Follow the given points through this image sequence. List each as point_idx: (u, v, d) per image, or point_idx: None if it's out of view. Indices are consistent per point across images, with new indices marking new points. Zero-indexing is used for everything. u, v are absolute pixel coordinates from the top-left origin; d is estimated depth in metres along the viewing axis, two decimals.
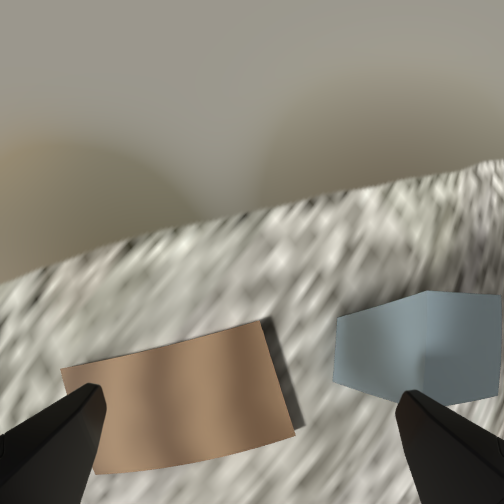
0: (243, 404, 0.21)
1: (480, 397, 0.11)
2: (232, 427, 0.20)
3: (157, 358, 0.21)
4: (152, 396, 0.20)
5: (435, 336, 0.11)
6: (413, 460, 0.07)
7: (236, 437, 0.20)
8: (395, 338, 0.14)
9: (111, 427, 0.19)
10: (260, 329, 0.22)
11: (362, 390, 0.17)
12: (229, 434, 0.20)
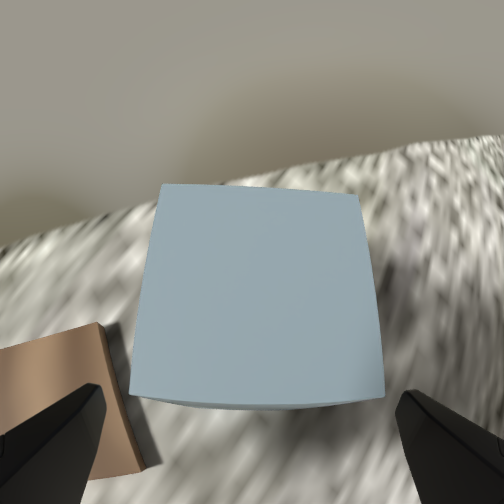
0: None
1: (320, 396, 0.06)
2: None
3: (2, 359, 0.15)
4: None
5: (168, 252, 0.07)
6: (413, 460, 0.07)
7: None
8: None
9: None
10: (97, 332, 0.17)
11: None
12: None
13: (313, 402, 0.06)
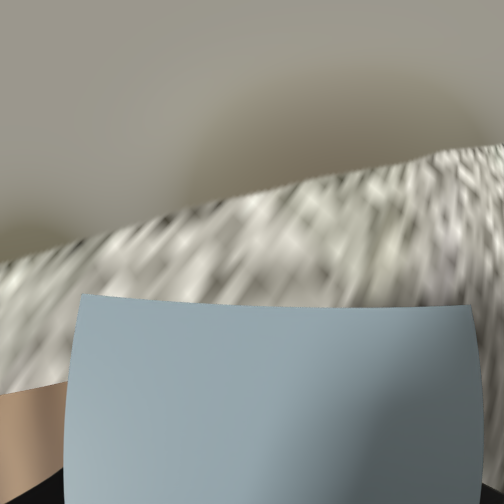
0: None
1: None
2: None
3: None
4: None
5: (101, 464, 0.02)
6: None
7: None
8: None
9: None
10: None
11: None
12: None
13: None
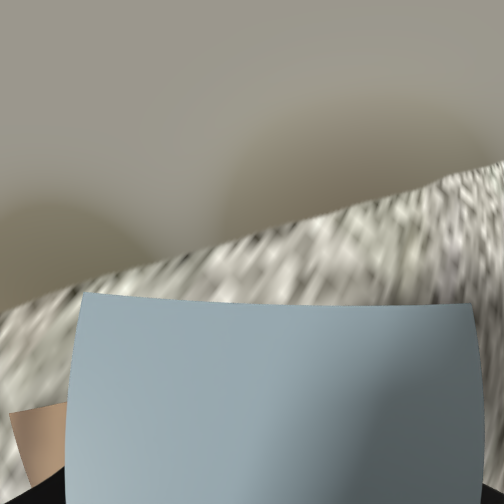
0: None
1: None
2: None
3: None
4: None
5: (102, 462, 0.02)
6: None
7: None
8: None
9: None
10: None
11: None
12: None
13: None
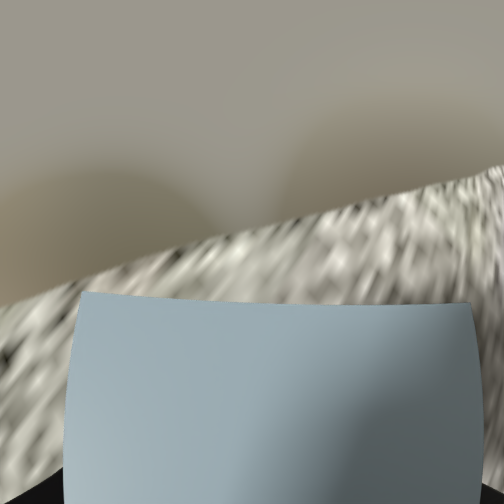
0: None
1: None
2: None
3: None
4: None
5: (100, 461, 0.02)
6: None
7: None
8: None
9: None
10: None
11: None
12: None
13: None
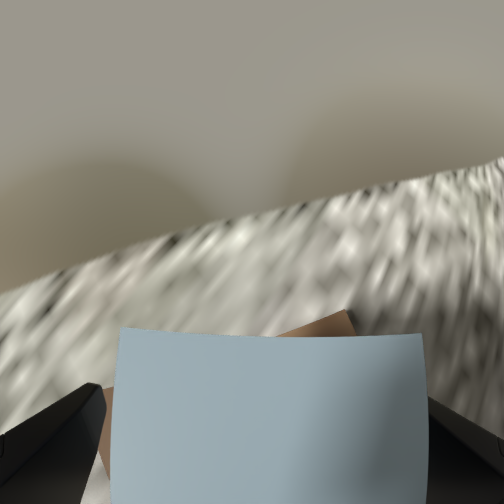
0: None
1: None
2: None
3: None
4: None
5: (139, 451, 0.04)
6: None
7: None
8: None
9: None
10: (347, 319, 0.18)
11: None
12: None
13: None
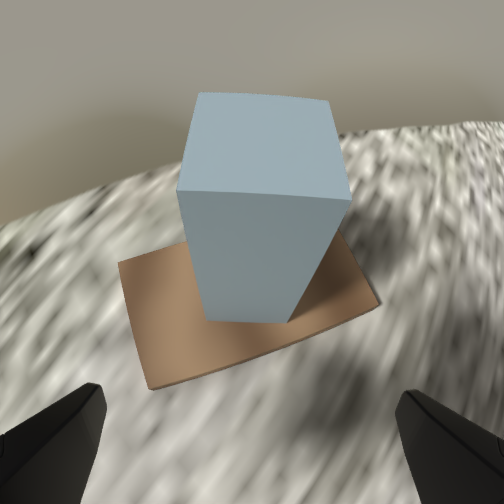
0: (323, 273, 0.22)
1: (305, 192, 0.09)
2: (315, 299, 0.21)
3: None
4: None
5: (204, 122, 0.10)
6: (413, 460, 0.07)
7: (321, 309, 0.20)
8: None
9: (176, 318, 0.20)
10: None
11: None
12: (314, 307, 0.20)
13: (301, 196, 0.09)
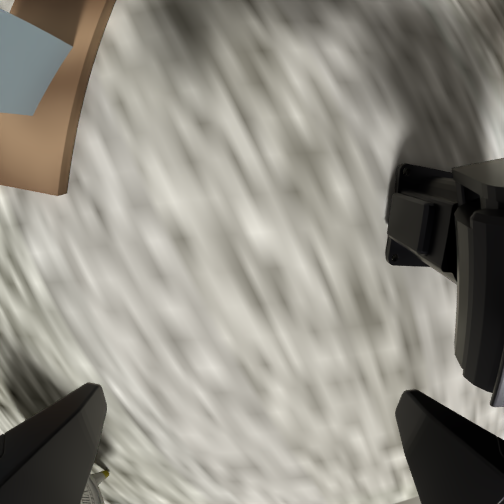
0: None
1: None
2: (75, 13, 0.13)
3: None
4: None
5: None
6: (413, 460, 0.07)
7: (85, 12, 0.13)
8: None
9: (19, 142, 0.16)
10: None
11: None
12: (79, 17, 0.13)
13: None
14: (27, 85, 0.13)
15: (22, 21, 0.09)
